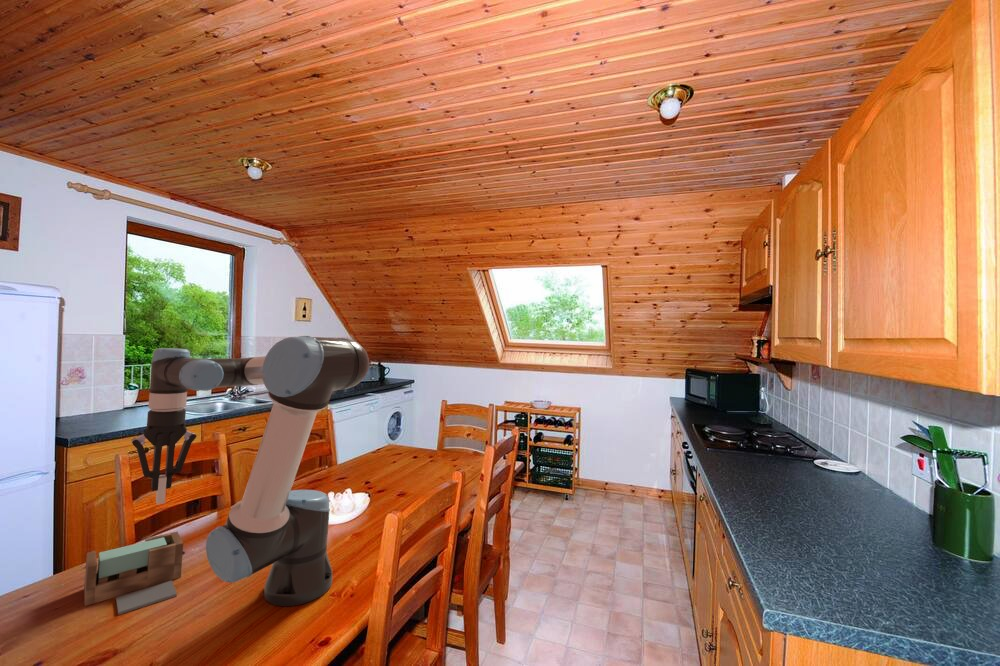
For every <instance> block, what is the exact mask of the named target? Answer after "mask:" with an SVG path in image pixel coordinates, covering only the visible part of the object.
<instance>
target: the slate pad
mask: <svg viewBox="0 0 1000 666" xmlns="http://www.w3.org/2000/svg"><path fill="white" fill-rule="evenodd" d="M177 594H178V593H177V591H176V588H175V585H174V582H173V580H170V581H167V582H163V583H160V584H157V585H154V586H150V587H147V588H144V589H140V590H137V591H134V592H130V593H127V594H124V595H120V596H117V597H115V601H116V609H117V615H118V616H120V615H122V614H126V613H129V612H133V611H136V610H137V609H138V610H139V609H141V608H145V607H146V606H151V605H153V604H157V603H159V602H162V601H167V600H169V599H172V598H176V597H177Z"/></svg>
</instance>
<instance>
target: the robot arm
mask: <svg viewBox="0 0 1000 666" xmlns="http://www.w3.org/2000/svg"><path fill="white" fill-rule="evenodd" d="M369 368H370V358H369V355H368V352H367V351H366V349H365V347H363V346H362V345H361V344H360V343H359V342H357V341H355V340H353V339H349V338H344V337H343V338H340V337H337V338H335V337H319V336H310V335H301V336H300V335H299V336H289V337H285V338H283V339H281V340H279V341H277V342H276V343H275V344H274V345H273V346H272V347H271V348H270V349H269V350H268V351H267V354H266V355H265V356H256V357H242V358H241V357H240V358H239V357H238V358H235V357H234V358H233V357H232V358H196V357H195V358H191V352H190V350H189V349H186V348H176V347H173V348H172V347H169V348H168V347H167V348H166V347H165V348H164V347H160V348H159V347H158V348H156V349H154V350H153V352H152V360H151V362H150V381H149V382H150V383H149V394H148V395H149V397H148V407H147V408H148V409H149V411H147V419H146V427H145V429H144V430H143V433H142V434H141V435H139V436H138V437H134V438H132V439H131V444H132V445H133V446H134V448H135V449H136V451H137V454H138V460H139V463H140V467H141V472H142V475H143V476H144V478H151V484H150V485H151V486H150V487H151V490H152V492H155V491H156V493H155V503H156V505H163V504H166V492H167V491H166V490H167V489H172V482H173V476H174V475H175V474H177V473H181V472H182V470H183V467H184V464H185V462H186V458H187V457H188V454H189V451H190V449H191V445H192V443H193V442H194V441H195V439H196V438H197V434H196V433H195V432H191V431H188V429H187V426H186V412H187V411H186V409H185V408H186V407H187V402H188V401H187V400H188V399H187V398H188V390H191V391H193V392H194V391H196V392H201V391H204V392H208V391H211V390H213V389H216V388H217V389H218V388H220V389H221V388H228V387H229V388H230V387H247V386H260V385H262V386H263V385H264V387H265V388H266V390H267V391H268V392H267V395H268V398H269V399H270V400H271V401H272V403H273V405H272V407H271V411H270V414H269V417H268V419H267V422H266V425H265V429H264V432H263V435H262V437H261V440H260V443H259V446H258V449H257V454H256V456H255V459H254V462H253V465H252V468H251V470H250V471H251V472H250V473H249V478H248V480H247V484H246V487H245V489H244V493H243V496H242V499H241V500H239V501H238V502H235V504H233V505H232V507H231V508H230V510H229V512H228V515H227V519H226V521H225V524H223V525H219V526H216V527H215V528H214V529H212V530H211V531H210V532H209V533H208V535H207V539H206V543H205V551H206V552H205V553H206V558H207V561H208V563H209V565H210V568H211V570H212V572H213V573H214V574H215V575H216V577H217V578H219V580H220V581H222V582H225V583H229V584H230V583H231V584H232V583H237V582H239V581H241V580H243V579H245V578H250V577H251V576H252V575H254V574H256V573H257V572H260V571H262V570H264V569H266V568H267V567H269V566H271V568H270V571H269V573H268V575H267V578H266V581H265V583H264V590H263V591H264V593H263V597H264V599H265V600H266V602H268V603H269V604H270V605H273V606H280V607H292V606H300V605H304V604H306V603H307V604H308V603H310V602H312V601H314V600H316V599H318V598H320V597H322V596H323V595H324V594H326V593H327V592H328V591H329V590H330V588H331V586H332V583H333V569H332V568H333V567H332V565H331V563H330V558H329V556H328V552H327V548H328V536H329V535H328V534H329V523H330V522H329V520H330V512H331V508H330V498H329V496H328V494H326V493H325V492H323V491H320V490H314V489H294V490H292V487H293V485H294V482H295V479H296V477H297V473H298V470H299V466H300V464H301V462H302V457H304V452H305V449H306V446H307V443H308V440H309V438H310V435H311V431H312V429H313V426H314V422H315V420H316V417H317V414H318V413H319V412H320V411H323V410H325V409H327V408H328V405H329V401H330V399H331V396H332V394H333V392H336V391H341V390H348V389H351V388H354V387H356V386H357V385H358V384H360V383H361V382H363V380H364V379H365V377H366V376H367V374H368V373H369ZM183 436H184V437H183ZM182 438H183V439H184V441H183V442H182V445H181V448H180V452H179V455H178V456H177V460H176V462H175V461H174V460H175V449H176V444H177V443H178V442H179V441H180V440H181V439H182ZM146 440H147V441H148V442H149V443H150V444H151V445H152V446H153V457H152V470H150V466H149V463H148V459H147V455H146V450H145V447H144V445H145V444H146V442H145V441H146ZM165 446H166V457H165V458H166V459H165V467H164V469H165V470H164V471H165V472H164V473H165V474H161V464H162V463H161V461H162V451H163V447H165ZM174 462H175V465H174Z"/></svg>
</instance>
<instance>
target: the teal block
mask: <svg viewBox="0 0 1000 666" xmlns="http://www.w3.org/2000/svg"><path fill="white" fill-rule="evenodd" d="M166 545H167V543H166V541H165V538H164V537H162V538H158V539H154V540H150V541H146V542H145V541H143V542H139V543H134V544H129V545H126V546H122V547H118V548H117V547H116V548H113V549H108V550H105V551H100V552H98V559H97V561H98V562H97V570H98V578H99V579H100V578H104V577H107V576H111V575H115V574H118V573H122V572H126V571H129V570H133V569H137V568H140V567H144V566H148V556H149V550H150V549H154V548H158V547H162V546H166Z"/></svg>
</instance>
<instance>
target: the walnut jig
mask: <svg viewBox="0 0 1000 666" xmlns="http://www.w3.org/2000/svg"><path fill="white" fill-rule="evenodd" d="M162 537H164V538H165V541H166V543H167V545H166V546H162V547H158V548H154V549H150V550H149V556H148V566H144V567H140V568H137V569H133V570H129V571H126V572H122V573H118V574H115V575H111V576H107V577H104V578H100V579H99V578H98V562H97V561H98V559H97V558H98V557H97V550H91V551H88V552H87V553H86V558H85V559H86V560H85V570H84V571H85V573H84V584H83V586H84V587H83V596H84V597H83V598H84V607H87V606H91V605H94V604H96V603H97V604H98V603H99V602H104V601H106V600H110V599H113V598H116V597H119V596H122V595H126V594H129V593H132V592H135V591H139V590H142V589H145V588H149V587H152V586H155V585H159V584H162V583H165V582H169V581H174V580H176V579H179V578H181V577H182V565H183V555H184V554H183V550H184V541H183V540H182V537H181V536H180V534H179V532H178V531H173V532H169V533H164V534H161V535H156V536H152V537H148V538H145V540H144V542H146V541H150V540H154V539H158V538H162ZM182 554H183V555H182Z"/></svg>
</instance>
